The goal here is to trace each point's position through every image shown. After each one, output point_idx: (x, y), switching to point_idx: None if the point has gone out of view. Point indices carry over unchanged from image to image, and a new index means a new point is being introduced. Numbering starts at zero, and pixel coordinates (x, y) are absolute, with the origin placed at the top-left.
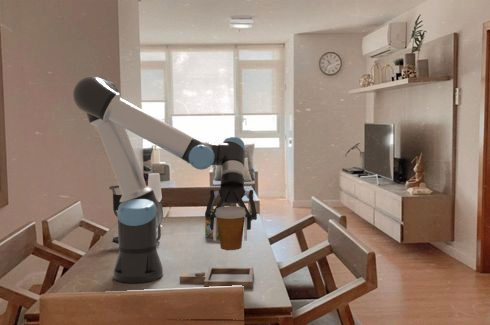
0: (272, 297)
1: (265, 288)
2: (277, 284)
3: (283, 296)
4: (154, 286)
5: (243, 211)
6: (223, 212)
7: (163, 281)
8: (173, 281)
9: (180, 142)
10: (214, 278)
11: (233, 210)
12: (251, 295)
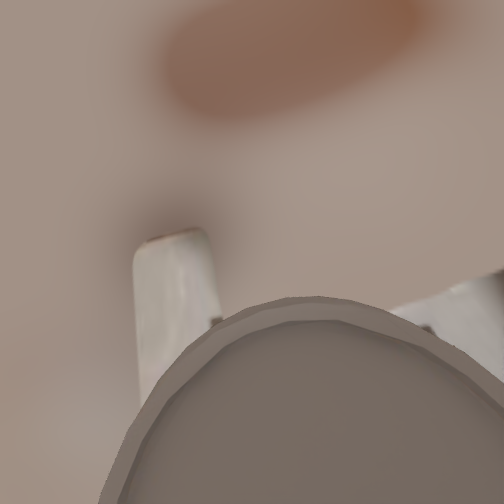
0: (161, 288)
1: (180, 350)
2: (148, 395)
3: (136, 300)
4: (489, 294)
5: (115, 472)
6: (355, 306)
7: (500, 345)
8: (469, 352)
9: None
10: None
11: (268, 497)
12: (209, 289)
